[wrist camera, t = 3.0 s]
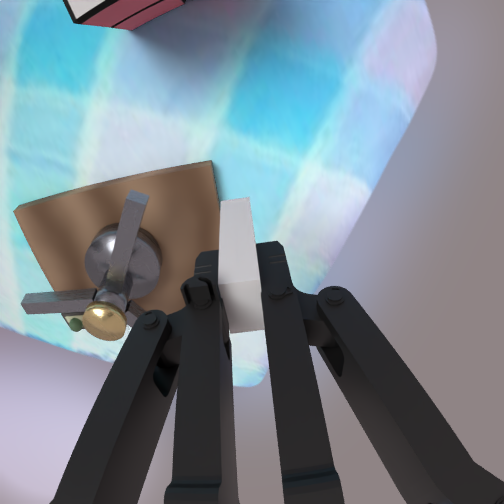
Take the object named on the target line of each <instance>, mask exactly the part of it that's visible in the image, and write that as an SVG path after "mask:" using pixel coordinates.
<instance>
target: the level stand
mask: <svg viewBox="0 0 504 504" xmlns="http://www.w3.org/2000/svg"><path fill="white" fill-rule="evenodd" d="M131 189H132V190H135V191H137V192H140V193H143V194H146V195H149V196H150V197H149V200H148V203H147V206H146V209H145V212H144V215H143V219H142V222H141V225H140V228H142V229H144V230H146V231H147V232H148V233H150V234H151V235H152V236H153V237H154V238H155V240H156V241H157V243H158V244H159V246H160V248H161V251H162V258H163V260H162V266H161V271H160V275H159V279H158V283H157V285H156V287H155V288H154V289H153V290H152V291H151V292H150V293H149V294H147V295H146V296H143V297H141V298H137V299H132V300H133V301H134V302H135V303H136V304H138V305H139V306H140V307H141V308H143V309H144V310H145V311H149V310H161V311H163V312H164V313H165V314H166V315H169V314H171V313H174V312H177V311H179V310H181V309H182V308H184V307H185V306H186V304H185V302H184V299H183V296H182V293H181V290H180V288H181V285H182V284H183V283H184V282H185V281H186V280H187V279H189V278H191V277H193V276H194V268H195V260H196V258H197V257H198V255H199V254H200V252H204V251H211V250H219V235H220V204H219V198H218V193H217V188H216V182H215V177H214V172H213V166H212V161H211V160H210V161H204V162H198V163H192V164H187V165H181V166H176V167H171V168H165V169H160V170H155V171H150V172H146V173H141V174H136V175H132V176H127V177H123V178H118V179H114V180H110V181H105V182H101V183H97V184H93V185H89V186H85V187H81V188H78V189H74V190H70V191H66V192H63V193H59V194H56V195H52V196H49V197H45V198H42V199H38V200H35V201H32V202H28V203H25V204H22V205H19V206H18V207H17V208H16V209H15V210H14V211H13V212H14V214H15V216H16V218H17V221H18V223H19V225H20V227H21V229H22V231H23V233H24V236H25V238H26V240H27V242H28V244H29V246H30V248H31V250H32V252H33V254H34V256H35V257H36V259H37V261H38V263H39V265H40V267H41V269H42V271H43V272H44V274H45V276H46V278H47V279H48V281H49V283H50V285H51V286H52V288H53V290H54V292H55V291H66V290H78V289H89V288H97V290H98V289H99V288H98V287H97V286H96V285H95V284H94V283H93V282H92V281H91V279H90V278H89V276H88V274H87V272H86V269H85V263H84V260H85V254H86V252H87V250H88V248H89V246H90V244H91V242H92V240H93V239H94V237H95V235H96V234H97V232H98V231H99V230H100V229H102V228H103V227H105V226H107V225H110V224H113V223H119V222H120V218H121V215H122V211H123V207H124V203H125V200H126V197H127V196H128V194H129V192H130V190H131ZM130 300H131V299H128V301H130ZM61 315H62V316H63V318H64V319H65V321H66V322H67V324H68V325H69V327H70V328H71V330H73V331H75V332H78V331H80V330H81V329H85V327H84V326H83V323H82V317H83V315H84V312H68V313H61Z"/></svg>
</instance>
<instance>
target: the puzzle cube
mask: <svg viewBox="0 0 504 504" xmlns="http://www.w3.org/2000/svg"><path fill="white" fill-rule="evenodd" d="M63 2H64V4H65V6H66V8H67V10H68V12H69V15H70V17H71V19H72V21H73V23H75V24H83V25H93V26H102V27H111V28H118V29H125V30H133V29H135V28H137V27H139V26H141V25H142V24H144V23H146V22H148V21H150V20H152V19H154V18H156V17H158V16H160V15H162V14H164V13H166V12H168V11H170V10H172V9H174V8H177V7H179V6H181V5H183V4H185V2H186V0H63Z"/></svg>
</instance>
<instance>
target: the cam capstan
mask: <svg viewBox="0 0 504 504" xmlns="http://www.w3.org/2000/svg"><path fill="white" fill-rule="evenodd" d="M149 197H150V196H149V195H146V194H143V193H140V192H137V191H135V190H132V189H131V190H130V192H129V194H128V196H127V197H126V200H125V203H124V207H123V211H122V215H121V218H120V222H119V223H113V224H110V225H107V226H105V227H103V228H102V229H100V230H99V231H98V232H97V234H96V235H95V237H94V239H93V240H92V242H91V244H90V246H89V248H88V250H87V252H86V254H85V260H84V263H85V269H86V272H87V274H88V276H89V278H90V279H91V281H92V282H93V283H94V284H95V285H96V286H97V287H98V288H99V289H98V290H97V288H89V289H78V290H66V291H55V292H42V293H30V294H26V295H25V296H24V298H23V300H22V302H21V305H22V307H23V308H24V310H25V312H26V313H27V314H46V313H68V312H84V315H83V317H82V323H83V326H84V327H85V329H86V330H87V331H88V332H89V333H90V334H91V335H93V336H95V337H97V338H99V339H102V340H106V341H115V340H118V339H120V338H122V337H123V335H124V333H125V329H126V325H127V324H128V325H129V326H130V327H133V325H134V323H135V322H136V320H137V319H138V317H139V316H140V315H141V314H143V313H144V312H146V311H145V310H144V309H143V308H141V307H140V306H139V305H138V304H136V303H135V302H134V301H133V300H132V299H137V298H141V297H143V296H146V295H147V294H149V293H150V292H151V291H152V290H153V289H154V288H155V287H156V285H157V283H158V279H159V275H160V271H161V266H162V260H163V258H162V251H161V248H160V246H159V244H158V243H157V241H156V240H155V238H154V237H153V236H152V235H151V234H150V233H148V232H147V231H146V230H144V229H142V228H140V225H141V222H142V219H143V215H144V212H145V209H146V206H147V203H148V200H149ZM128 299H131V300H130V301H128Z"/></svg>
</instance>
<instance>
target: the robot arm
mask: <svg viewBox="0 0 504 504" xmlns="http://www.w3.org/2000/svg"><path fill="white" fill-rule="evenodd" d="M180 290H181V293H182V296H183V299H184V302H185V304H186V306H185V307H184V308H182V309H181V310H179V311H177V312H174V313H171V314H169V315H166V314H165V313H164V312H163V311H161V310H149V311H146V312H144V313H143V314H141V315H140V316H139V317H138V319H137V320H136V322H135V323H134V325H133V327H132V329H131V331H130V333H129V335H128V337H127V339H126V341H125V343H124V344H123V346H122V348H121V350H120V352H119V354H118V356H117V358H116V360H115V362H114V364H113V366H112V368H111V370H110V372H109V374H108V376H107V378H106V380H105V382H104V385H103V387H102V389H101V391H100V393H99V395H98V397H97V399H96V401H95V403H94V406H93V408H92V410H91V412H90V414H89V416H88V419H87V421H86V423H85V425H84V427H83V430H82V432H81V434H80V436H79V439H78V441H77V443H76V446H75V448H74V450H73V452H72V455H71V457H70V460H69V462H68V464H67V467H66V469H65V472H64V474H63V477H62V479H61V482H60V484H59V486H58V489H57V492H56V494H55V497H54V499H53V500H52V501H51V502H50V504H137V503H138V500H139V497H140V494H141V491H142V488H143V484H144V481H145V479H146V476H147V473H148V470H149V466H150V464H151V461H152V458H153V455H154V452H155V449H156V446H157V443H158V440H159V437H160V434H161V432H162V429H163V426H164V423H165V420H166V417H167V414H168V412H169V409H170V406H171V403H172V400H173V397H174V395H175V392H176V389H177V400H176V415H175V431H174V448H173V470H172V481H171V483H170V484H169V486H168V487H167V488H166V491H165V495H164V504H240V503H239V498H238V486H237V467H236V448H235V429H234V405H233V379H232V351H231V341H230V338H229V330H230V334H231V333H240V332H248V331H257V330H264V329H265V336H266V344H267V353H268V361H269V369H270V378H271V386H272V395H273V404H274V413H275V421H276V430H277V438H278V447H279V456H280V465H281V474H282V484H283V494H284V503H285V504H344V498H343V492H342V487H341V483H340V479H339V475H338V473H337V472H336V470H335V467H334V463H333V458H332V453H331V448H330V442H329V438H328V433H327V428H326V423H325V418H324V413H323V408H322V404H321V399H320V394H319V389H318V385H317V380H316V375H315V372H314V366H313V362H312V357H311V353H310V348H309V345H310V346H316V347H317V350H318V351H319V353H320V355H321V357H322V358H323V360H324V362H325V363H326V365H327V367H328V369H329V370H330V372H331V374H332V375H333V377H334V379H335V380H336V382H337V384H338V386H339V388H340V389H341V391H342V392H343V394H344V396H345V398H346V400H347V401H348V403H349V405H350V407H351V408H352V410H353V412H354V413H355V415H356V417H357V419H358V420H359V422H360V424H361V425H362V427H363V429H364V431H365V433H366V434H367V436H368V438H369V440H370V441H371V443H372V445H373V447H374V448H375V450H376V452H377V453H378V455H379V457H380V458H381V460H382V462H383V464H384V466H385V467H386V469H387V471H388V473H389V474H390V476H391V478H392V480H393V481H394V483H395V485H396V487H397V489H398V490H399V492H400V494H401V495H402V497H403V498H404V500H405V501H406V503H407V504H504V482H503V481H501V480H500V479H498V478H497V477H495V476H494V475H493V474H491V473H490V472H488V471H487V470H485V469H484V468H482V467H481V466H479V465H478V464H476V463H475V462H474V461H473V460H472V458H471V457H470V455H469V454H468V452H467V451H466V449H465V448H464V446H463V445H462V443H461V442H460V440H459V439H458V437H457V436H456V434H455V433H454V432H453V430H452V428H451V427H450V425H449V424H448V423H447V421H446V420H445V418H444V417H443V415H442V414H441V413H440V411H439V410H438V408H437V407H436V405H435V404H434V403H433V401H432V400H431V398H430V397H429V396H428V394H427V393H426V391H425V390H424V389H423V387H422V386H421V385H420V383H419V382H418V380H417V379H416V378H415V376H414V375H413V373H412V372H411V371H410V369H409V368H408V367H407V365H406V364H405V363H404V361H403V360H402V359H401V357H400V356H399V355H398V353H397V352H396V351H395V349H394V348H393V347H392V345H391V344H390V343H389V341H388V340H387V339H386V337H385V336H384V335H383V334H382V332H381V331H380V330H379V328H378V327H377V326H376V324H375V323H374V322H373V321H372V319H371V318H370V317H369V316H368V314H367V313H366V312H365V310H364V309H363V308H362V307H361V305H360V304H359V303H358V301H357V300H356V299H355V298H354V296H353V295H352V294H351V293H350V292H349V291H348V290H347V289H345V288H342V287H338V286H330V287H326V288H324V289H322V290H321V291H320V292H319V294H318V295H313V294H306V293H303V292H300V291H299V290H297V289H296V288H295V287H294V286H293V283H292V280H291V276H290V272H289V268H288V264H287V260H286V256H285V251H284V247H283V246H282V245H281V244H280V243H279V242H278V241H272V242H265V243H258V244H256V242H255V235H254V227H253V220H252V213H251V206H250V198H249V197H246V198H239V199H232V200H225V201H221V209H220V235H219V250H211V251H204V252H200V254H199V255H198V257H197V258H196V260H195V268H194V276H193V277H191V278H189V279H187V280H186V281H185V282H184V283H183V284H182V285H181V288H180ZM177 386H178V387H177Z"/></svg>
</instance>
